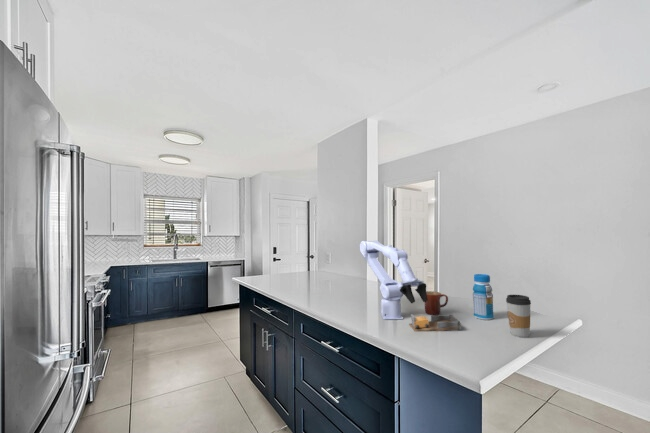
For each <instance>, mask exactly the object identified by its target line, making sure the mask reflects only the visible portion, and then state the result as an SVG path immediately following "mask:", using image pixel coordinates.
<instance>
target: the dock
mask: <svg viewBox="0 0 650 433" xmlns="http://www.w3.org/2000/svg"><path fill="white" fill-rule="evenodd" d="M428 322H429V327H423V328H418V329H417V328H414V326H413V325H412V322H411V323H408V325H409V326H410V328H411V329H412V330H413V332H415V333H416V332H460V331H461V321H460V320H458V318H456V317H455V316H453V315H452V314H449V315H430V320H428Z"/></svg>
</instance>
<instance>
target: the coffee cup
mask: <svg viewBox="0 0 650 433" xmlns="http://www.w3.org/2000/svg"><path fill="white" fill-rule="evenodd" d="M505 299H506V300H505V302H506V307H507V308H506V310H507V318H508V326H509V330H510V334H511V335H512V336H514V337H517V338H524V339H525V338H529V337H530V335H531V304H532V303H531V302H532V301H531V299H530V297H529V296H527V295H523V294H522V295H521V294H507V296H506V298H505Z"/></svg>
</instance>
